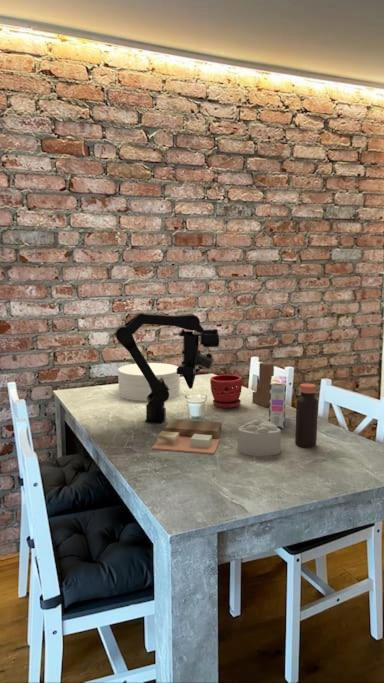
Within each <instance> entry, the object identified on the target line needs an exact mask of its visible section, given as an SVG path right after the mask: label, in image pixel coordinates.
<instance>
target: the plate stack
mask: <svg viewBox="0 0 384 683" xmlns="http://www.w3.org/2000/svg"><path fill="white" fill-rule="evenodd" d="M147 363H148V364H149V366H150V368H151V369H152V371H153V372H154V374H155V376H156V377H157V378H158V379H160V378H161V377H162V378H163V380H164V382H165V384H166V385H167V386H168V388H169V390H168V392H169V398H168V400H170V399H173V398H174V399H175V398H176V397H178V396H179V395H180V393H181V384H180V383H181V379H180V378H181V374H177V368H178V367H179V366H178V365H175V364H171V363H163V362H147ZM117 372H118V374H117V376H118V377H117V379H118V386H117V387H118V396H119V395H120V396H119V397H121V398H123V399H125V398H126V399H127V400H129V399H131V400H130V401H136V400H139V402H140V401H141V402H148V400H147V396H148V395H149V394H150V393H151V392H152V391H151V388H150V386H149V383H148V381H147V380H146V378H145V377H144V375H143V374H142V372H141V370H140V369H139V367H138V366H137V364H136V363H131V364H126V365H122V366H120V367H118V370H117Z"/></svg>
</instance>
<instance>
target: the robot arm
mask: <svg viewBox="0 0 384 683" xmlns="http://www.w3.org/2000/svg"><path fill="white" fill-rule="evenodd" d="M143 325H151V326H152V325H154V326H155V325H156V326H166V327H167V326H168V327H169V326H170V327H176V328H180V329H181V331H180V332H178V333H177V335H178V336H179V337H182V340H183V341H182V344H183V345H182V347H183V348H182V350H181V354H182V356H183V359H182V360H183V361H181V365H179V366H178V368H177V374H180V375H182V376H183V378H184V380H185V382H186V385H187V387H188V389H189V390H190V389H193V387H194V383H195V379H196V375H197V373H199V371H200V370H201V369H200V368H198V367H197V366H200V367H202V368H203V367H204V368H205V369H208V370H210V368H212V366H213V363H214V360H215V358H213V354H212V353H209V352H208V353H207V354H206V355H205V354H202V352H201V350H200V349H199V347H200V346H199V345H201V346H202V348H219V346H220V338H219V332H218V331H219V329H217V328H212V329H204V328H203V327H202V326H201V321H200V318H199V317H198V316H197V315H195V314H193V313H182V314H178V315H177V314H175V315H169V314H157V313H144V312H139V313H136V315H135V316H134V317H133V318H131V319H130V320H128V321H127V322H126V323H125V324H121V325H118V326H117V328H116V329H115V338H116V340H117V341H118V343H120V345H121V346H122V347H123V348H125V349H126V351H127V352H128V353H129V354H130V356H131V357H132V359H133V361H134V363H135V364H137V366H138V367H139V369H140V370H141V372H142V374H143V375H144V377H145V378H146V380H147V381H148V383H149V386H150V388H151V391H152V392H151V393H150V394H149V395H148V396H147V400H148V401H147V402H148V403H147V404H146V407H145V409H146V410H145V412H146V414H145V415H146V417H145V418H146V419H145V420H144V423H155V424H162V423H163V422H165V420H166V419H167V408H166V407H165V402H166V401H168V400H169V399H168V398H169V392H168V390H169V388H168V386H167V385H166V384H165V382H164V380H163V378H162V377H161V378H160V379H158V378H157V377H156V376H155V374H154V372H153V371H152V369H151V368H150V366H149V364H148V363H149V362H148V361H147V359H146V358H145V357H144V355H143V353H142V352H141V350H140V348H139V347H138V345H137V343H136V340H135V338H134V334H135V333H136V332H137V331H138V330H139V329H140V328H141V327H142V326H143ZM187 330H188V331H187ZM194 331H195V332H197V333H194Z"/></svg>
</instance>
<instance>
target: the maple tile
mask: <svg viewBox="0 0 384 683" xmlns="http://www.w3.org/2000/svg"><path fill="white" fill-rule="evenodd" d="M178 441H179V433H178V432H167V431H165V430H161V431H160V432H159V433H158V434H157V440H156V442H157V443H160V444H170V445H176V443H177V442H178Z"/></svg>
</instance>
